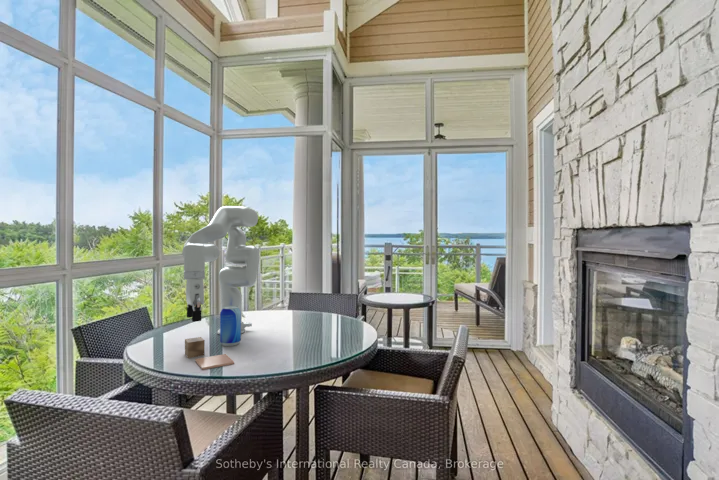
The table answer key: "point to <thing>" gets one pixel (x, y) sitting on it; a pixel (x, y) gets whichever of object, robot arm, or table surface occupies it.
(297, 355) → the table surface
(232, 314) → the beer can
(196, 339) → the walnut block
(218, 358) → the coaster
